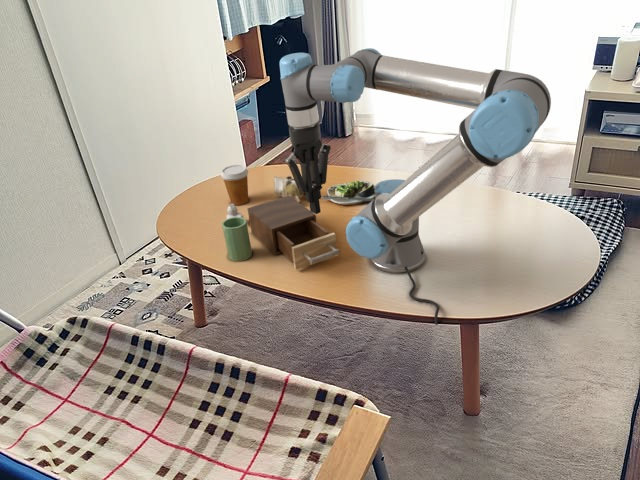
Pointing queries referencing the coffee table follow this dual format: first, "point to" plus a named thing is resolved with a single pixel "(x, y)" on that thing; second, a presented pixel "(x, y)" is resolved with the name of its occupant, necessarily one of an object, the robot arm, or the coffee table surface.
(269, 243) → the cabinet
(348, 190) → the avocado toast plate
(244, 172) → the disposable coffee cup
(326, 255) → the drawer
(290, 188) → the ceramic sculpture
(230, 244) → the pot
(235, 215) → the white animal figurine
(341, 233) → the coffee table surface
